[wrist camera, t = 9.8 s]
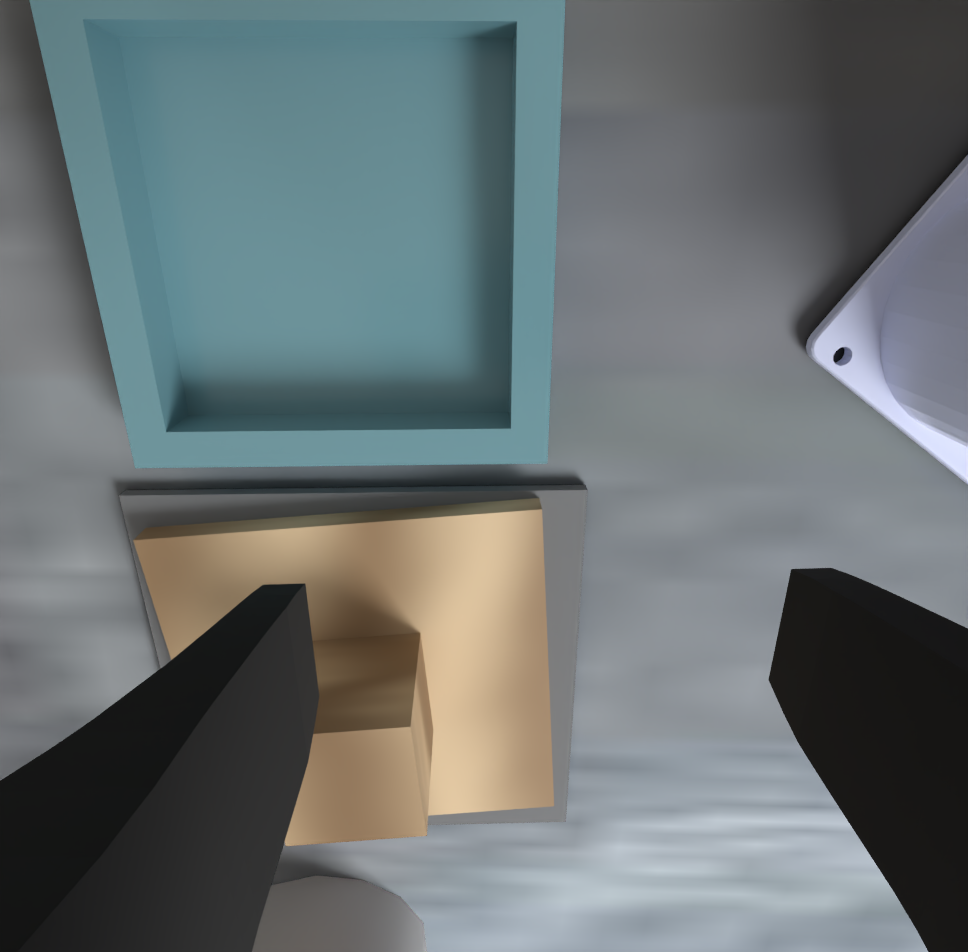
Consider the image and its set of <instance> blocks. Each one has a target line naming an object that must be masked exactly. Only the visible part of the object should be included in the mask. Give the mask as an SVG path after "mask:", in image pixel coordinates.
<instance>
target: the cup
mask: <svg viewBox="0 0 968 952" xmlns="http://www.w3.org/2000/svg"><path fill="white" fill-rule="evenodd" d="M252 952H427V948H426V940H425V931H424V923H423V922H422V921H421V919H420V918H419V917H418V916H417V915H416V914H415V913H414V911H413V910H412V909H411V908H410V907H409V906H408V905H407V904H406V902H405V901H404V900H403V899H402V898H401V897H399V896H397V895H395V894H393V893H390V892H388V891H386V890H384V889H381V888H379V887H377V886H375V885H373V884H370V883H368V882H366V881H364V880H357V879H347V878H337V877H327V876H317V875H316V876H312V877H307V878H302V879H298V880H293V881H288V882H284V883H279V884H275V885H272V886H271V887H270V891H269V894H268V897H267V901H266V904H265V907H264V910H263V914H262V917H261V920H260V924H259V927H258V931H257V935H256V938H255V942H254V946H253V950H252Z"/></svg>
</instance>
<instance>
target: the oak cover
mask: <svg viewBox="0 0 968 952" xmlns="http://www.w3.org/2000/svg"><path fill="white" fill-rule="evenodd" d="M133 541H134V544H135V547H136V551H137V554H138V557H139V560H140V563H141V566H142V569H143V573H144V576H145V579H146V582H147V585H148V588H149V591H150V595H151V598H152V601H153V604H154V607H155V610H156V613H157V616H158V620H159V623H160V626H161V629H162V632H163V635H164V638H165V642H166V645H167V648H168V651H169V654H170V657H171V660H172V659H173V658H174V657H176V656H177V655H178V654H179V653H181V652H182V651H183V650H184V649H185V648H187V647H188V646H189V645H190V644H191V643H193V642H194V641H195V640H196V639H197V638H199V637H200V636H201V635H202V634H204V633H205V632H206V631H207V630H208V629H210V628H211V627H212V626H213V625H214V624H215V623H217V622H218V621H219V620H220V619H221V618H223V617H224V616H225V615H226V614H227V613H228V612H230V611H231V610H232V609H233V608H234V607H236V606H237V605H238V604H239V603H240V602H241V601H243V600H244V599H245V598H246V597H248V596H249V595H250V594H251V593H252V592H254V591H255V590H256V589H258V588H259V587H260V586H262V585H268V584H302V583H305V584H306V593H307V601H308V609H309V617H310V625H311V633H312V641H313V649H314V657H315V665H316V673H317V681H318V689H319V702H318V708H317V715H316V721H315V727H314V733H313V738H312V744H311V749H310V755H309V760H308V764H307V768H306V771H305V775H304V778H303V782H302V785H301V788H300V792H299V795H298V798H297V802H296V805H295V808H294V812H293V815H292V818H291V822H290V825H289V828H288V832H287V835H286V838H285V844H286V846H295V845H308V844H322V843H335V842H349V841H362V840H376V839H389V838H403V837H416V836H427V825H428V816H430V815H443V814H457V813H470V812H484V811H497V810H511V809H524V808H538V807H551V806H554V789H553V765H552V740H551V716H550V691H549V666H548V642H547V617H546V593H545V568H544V544H543V519H542V507H541V503H540V499H539V498H532V499H519V500H506V501H493V502H479V503H466V504H453V505H440V506H427V507H414V508H400V509H387V510H374V511H361V512H348V513H334V514H321V515H308V516H295V517H282V518H268V519H255V520H242V521H229V522H216V523H203V524H189V525H176V526H163V527H150V528H145V529H144V530H143V531H142V532H141V533H140V534H139V535H138V536H137V537H136V538H135V539H134V540H133Z"/></svg>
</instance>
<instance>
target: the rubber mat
mask: <svg viewBox="0 0 968 952" xmlns="http://www.w3.org/2000/svg"><path fill="white" fill-rule="evenodd" d="M119 498H120V503H121V507H122V511H123V515H124V519H125V523H126V528H127V532H128V536H129V540H130V544H131V548H132V552H133V557H134V561H135V565H136V569H137V573H138V577H139V581H140V586H141V590H142V594H143V598H144V602H145V606H146V610H147V615H148V619H149V623H150V627H151V631H152V635H153V640H154V644H155V648H156V652H157V656H158V660H159V664H160V669H161V668H162V667H163V666H165V665H166V664H167V663H168V662H170V661H171V657H170V654H169V651H168V648H167V645H166V642H165V638H164V635H163V632H162V629H161V626H160V623H159V620H158V616H157V613H156V610H155V607H154V604H153V601H152V598H151V595H150V591H149V588H148V585H147V582H146V579H145V576H144V573H143V569H142V566H141V563H140V560H139V557H138V554H137V551H136V547H135V544H134V541H133V540H134V539H135V538H136V537H137V536H138V535H139V534H140V533H141V532H142V531H143V530H144V529H145V528H150V527H163V526H176V525H189V524H203V523H216V522H229V521H242V520H255V519H268V518H282V517H295V516H308V515H321V514H334V513H348V512H361V511H374V510H387V509H400V508H414V507H427V506H440V505H453V504H466V503H479V502H493V501H506V500H519V499H532V498H539V499H540V503H541V507H542V519H543V544H544V568H545V593H546V617H547V642H548V666H549V691H550V716H551V740H552V765H553V789H554V806H551V807H538V808H524V809H511V810H497V811H484V812H470V813H457V814H443V815H430V816H428V825H449V824H490V823H532V822H566V810H567V795H568V780H569V765H570V749H571V734H572V719H573V703H574V688H575V673H576V658H577V642H578V627H579V612H580V596H581V581H582V566H583V551H584V535H585V520H586V505H587V488H586V485H521V486H438V487H355V488H272V489H189V490H125V491H124V492H123V493H121V494H120V495H119Z"/></svg>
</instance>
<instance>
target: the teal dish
mask: <svg viewBox="0 0 968 952" xmlns="http://www.w3.org/2000/svg"><path fill="white" fill-rule="evenodd" d="M29 1H30V5H31V10H32V14H33V18H34V23H35V27H36V32H37V36H38V41H39V45H40V49H41V54H42V58H43V63H44V67H45V72H46V76H47V80H48V85H49V89H50V94H51V98H52V102H53V107H54V111H55V116H56V120H57V125H58V129H59V133H60V138H61V142H62V147H63V151H64V155H65V160H66V164H67V169H68V173H69V178H70V182H71V186H72V191H73V195H74V200H75V204H76V209H77V213H78V217H79V222H80V226H81V231H82V235H83V239H84V244H85V248H86V253H87V257H88V262H89V266H90V270H91V275H92V279H93V284H94V288H95V293H96V297H97V301H98V306H99V310H100V315H101V319H102V323H103V328H104V332H105V337H106V341H107V346H108V350H109V354H110V359H111V363H112V368H113V372H114V376H115V381H116V385H117V390H118V394H119V399H120V403H121V407H122V412H123V416H124V421H125V425H126V430H127V434H128V438H129V443H130V447H131V452H132V456H133V460H134V465H135V468H193V467H282V466H370V465H459V464H547V460H548V434H549V408H550V383H551V357H552V331H553V305H554V279H555V253H556V227H557V201H558V175H559V149H560V123H561V98H562V72H563V46H564V20H565V0H29Z"/></svg>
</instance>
